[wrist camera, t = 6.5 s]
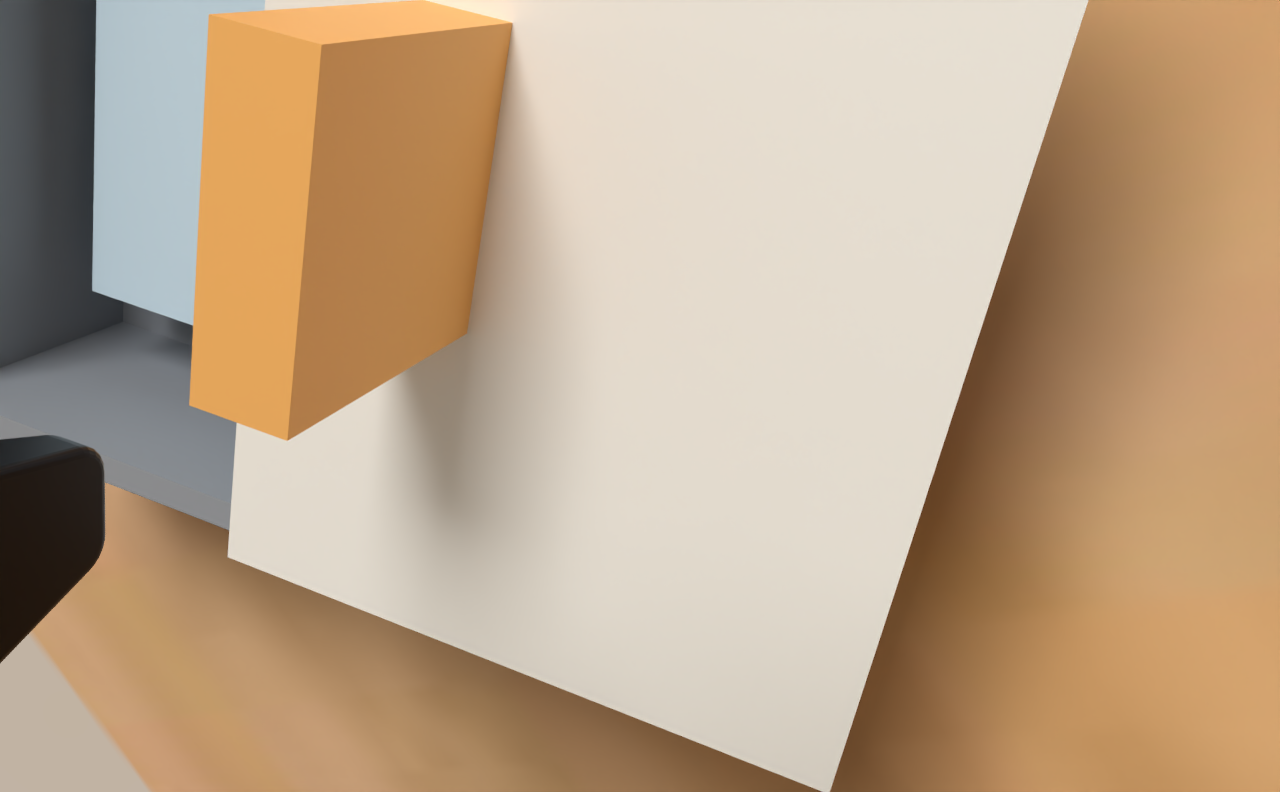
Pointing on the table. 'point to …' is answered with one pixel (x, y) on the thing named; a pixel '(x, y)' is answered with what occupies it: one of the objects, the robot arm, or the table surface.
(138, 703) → the table surface
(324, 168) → the flap
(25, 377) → the carton
